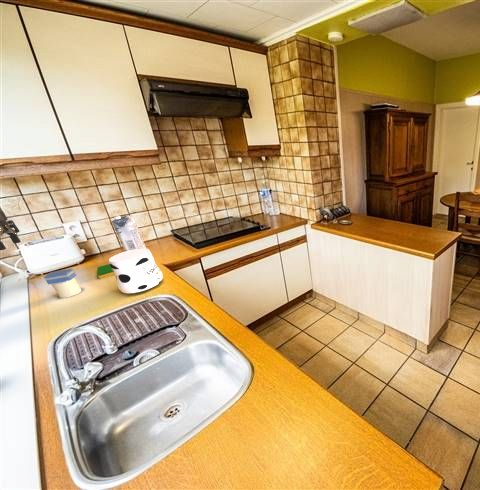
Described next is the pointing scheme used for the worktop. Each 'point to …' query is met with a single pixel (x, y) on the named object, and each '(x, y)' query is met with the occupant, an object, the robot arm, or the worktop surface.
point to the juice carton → (128, 232)
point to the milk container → (135, 271)
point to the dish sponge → (104, 271)
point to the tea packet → (60, 276)
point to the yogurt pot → (66, 288)
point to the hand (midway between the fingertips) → (10, 246)
